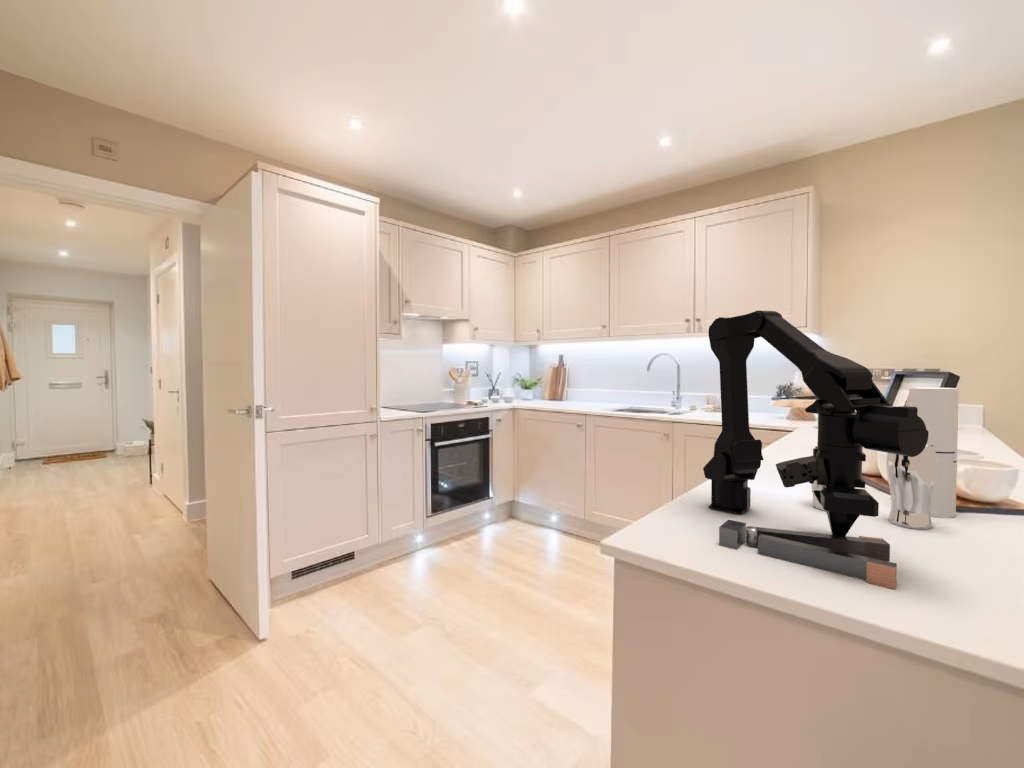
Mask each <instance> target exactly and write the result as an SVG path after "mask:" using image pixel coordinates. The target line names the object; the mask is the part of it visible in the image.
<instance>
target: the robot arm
mask: <svg viewBox="0 0 1024 768" xmlns="http://www.w3.org/2000/svg"><path fill="white" fill-rule="evenodd" d="M758 338H762V339H763V340H765V341H766V342H767V343H768V344H769V345H771V346H772V347H773V349H776V350H777V352H779V353H780V354H781V355H782V356H784V357H785V358H786V359H787V360H788V361H789V362H791V363H792V365H794V366H795V367H796V368H797V369H798V370H799V371H800V372H801V377H802V381H803V383H804V384H805V385H806V387H807V388H808V389H809V391H811V392H812V393H813V395H814V396H815V397H816V399H815V401H814V402H813V403H812V404H810V405H808V406H807V407H806V408H805V409H804V411H805V412H806V413H810V414H815V415H817V446H815V445H814V446H815V447H814V448H813V449H812V455H809V456H803V457H798V458H794V459H789V460H785V461H781V462H778V463H776V464H775V467H776V470H777V472H778V475H779V477H780V480H781V483H782V486H783V487H784V488H792V487H795V486H796V485H802V484H806V483H808V484H814V481H817V484H818V485H819V491H818V490H814V491H813V492H814V494H815V496H816V498H817V500H818V501H819V503H820V504H821V505H822V507H823V509H824V510H826V511H825V512H826V514H827V520H828V524H829V527H830V528H829V529H830V532H831V535H839V536H847V534H849V532H850V530H851V528H852V527H853V526H854V524H855V522H856V521H857V519H858V518H859V517H860V516H864V517H873V518H874V517H875V518H876V517H879V507H880V506H879V505H880V504H879V501H877V500H876V499H875V497H874V496H873V495H871V494H870V492H868V490H866V481H865V480H864V478H863V477H862V476H863V462H867V460H866V459H867V458H866V457H867V455H866V454H865V453H864V452H863V448H864V449H866V450H870V451H876V452H883V453H886V454H887V453H892V454H897V455H903V456H909V457H915V456H917V455H919V454H920V453H921V452H922V451H923V450H924V448H925V446H926V444H927V441H928V430H926V426H925V423H924V421H923V420H922V419H921V418H920V417H919V416H917V412H918V408H917V407H911V406H909V405H904V406H895V405H894V406H892V405H891V404H890V403H889V401H888V400H887V399H886V397H885V396H884V394H883V393H882V392H881V390H880V389H879V387H877V385H876V384H875V382H874V381H873V378H874V376H873V373H872V372H871V370H869V369H868V368H867V367H866V366H864V365H862V364H860V363H858V362H856V361H853V360H851V359H850V358H848V357H845V356H841V355H838V354H836V353H832V352H830V351H828V350H826V349H825V348H823V347H822V346H821V345H819V344H818V343H817V342H815V341H814V340H813V339H811V338H810V337H809V336H807V335H806V334H805V333H803V332H802V331H801V330H800V329H798V328H796V327H795V325H793V324H791V323H790V321H788V320H786V319H785V318H784V317H783V315H782V314H781V313H780V312H777V311H775V310H755V311H752V312H749V313H747V314H746V313H745V314H743V315H737V316H732V317H717V318H716V319H714V320H713V322H712V323H711V324H710V325H709V326H708V339H709V345H710V350H711V351H712V352H713V354H714V356H715V357H716V359H717V361H718V363H719V384H720V385H719V386H720V407H721V408H720V409H721V410H720V411H721V413H720V414H721V432H720V434H719V435H718V437H717V439H716V441H715V442H714V448H713V450H714V451H713V456H712V458H710V460H709V461H707V463H706V464H705V465H704V466H703V468H702V469H703V475H704V478H706V479H707V480H710V481H711V487H710V488H711V499H710V501H711V503H710V504H708V507H707V508H709V509H710V510H711V509H712V510H716V511H720V512H721V511H722V512H726V513H732V514H737V515H743V514H744V513H745V512H747V511H748V510H749V509H750V508H751V491H752V490H751V487H749V486H748V485H749V480H750V481H754V480H755V478H756V475H757V473H758V470H759V469H761V464H762V461H764V457H763V451H762V448H763V442H762V440H761V439H755V437H754V435H753V434H752V432H751V430H750V420H749V419H750V418H749V416H750V415H749V398H748V397H749V396H748V395H749V393H748V373H747V372H748V371H747V359H748V358H749V356H750V354H751V352H752V351H753V349H754V346H755V339H758ZM854 487H856V488H854ZM824 510H823V511H824Z"/></svg>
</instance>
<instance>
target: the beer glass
mask: <svg viewBox="0 0 1024 768" xmlns="http://www.w3.org/2000/svg"><path fill="white" fill-rule="evenodd" d="M886 475H887V482H888V486H889V492H890V499H891V507H890V511H889V515H888V522H889V523H891V524H893V525H896V526H899V527H903V528H907V529H913V530H921V531H922V530H924V531H925V530H927V531H928V530H932V528H933V522H932V518H931V517H932V516H930V501H931V497H932V493H933V490H934V486H935V481H936V476H937V458H936V446H935V445H932V444H926V446H925V448H924V450H923V451H922V452H921V453H920V454H919V455H917V456H915V457H909V456H903V455H897V454H892V453H886Z"/></svg>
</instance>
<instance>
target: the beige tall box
mask: <svg viewBox="0 0 1024 768" xmlns="http://www.w3.org/2000/svg"><path fill="white" fill-rule="evenodd" d="M908 406H911V407H917V408H918V412H917V416H919V417H920V418H921V419H922V420H923V421H924V423H925V426H926V430H928V441H927V444H932V445H935V446H936V458H937V476H936V481H935V486H934V490H933V493H932V497H931V501H930V517H934V518H942V519H943V518H945V519H948V518H949V519H950V518H955V517H956V516H957V507H956V506H957V479H958V478H957V475H958V473H957V472H958V435H959V434H958V431H959V429H958V427H959V388H958V387H957V388H956V387H926V386H925V387H921V386H920V387H909V388H908Z"/></svg>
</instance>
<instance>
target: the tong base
mask: <svg viewBox="0 0 1024 768" xmlns="http://www.w3.org/2000/svg"><path fill="white" fill-rule="evenodd" d="M746 527H747V523H746V522H744V521H743V522H742V521H737V520H732V519H727V520H726V521H725V522H723V523H722V524H721V525H720V526H719V529H718V531H719V532H718V534H719V536H718V537H719V538H718V541H719V542H718V545H719V546H724V547H726V548H731V549H735V550H738V549H739V548H740V547H741V546H742V545H743V544H744V543H746ZM757 554H760V555H763V556H767V557H772V558H776V559H780V560H783V561H788V562H792V563H797V564H800V565H802V566H808V567H812V568H816V569H821V570H824V571H828V572H833V573H836V574H841V575H845V576H849V577H852V578H857V579H862V580H864V581H866V583H868V584H871V585H877V586H881V587H884V588H889V589H892V590H897V567H898V565H897V564H898V563H896V562H891V561H890V562H887V561H883V560H878V559H874V558H869V557H865V556H860V555H855V554H851V553H846V552H842V551H837V550H832V549H828V548H823V547H819V546H814V545H810V544H805V543H800V542H796V541H791V540H787V539H782V538H777V537H773V536H768V535H764V534H761V535H760V536H759V537H758V546H757Z"/></svg>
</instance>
